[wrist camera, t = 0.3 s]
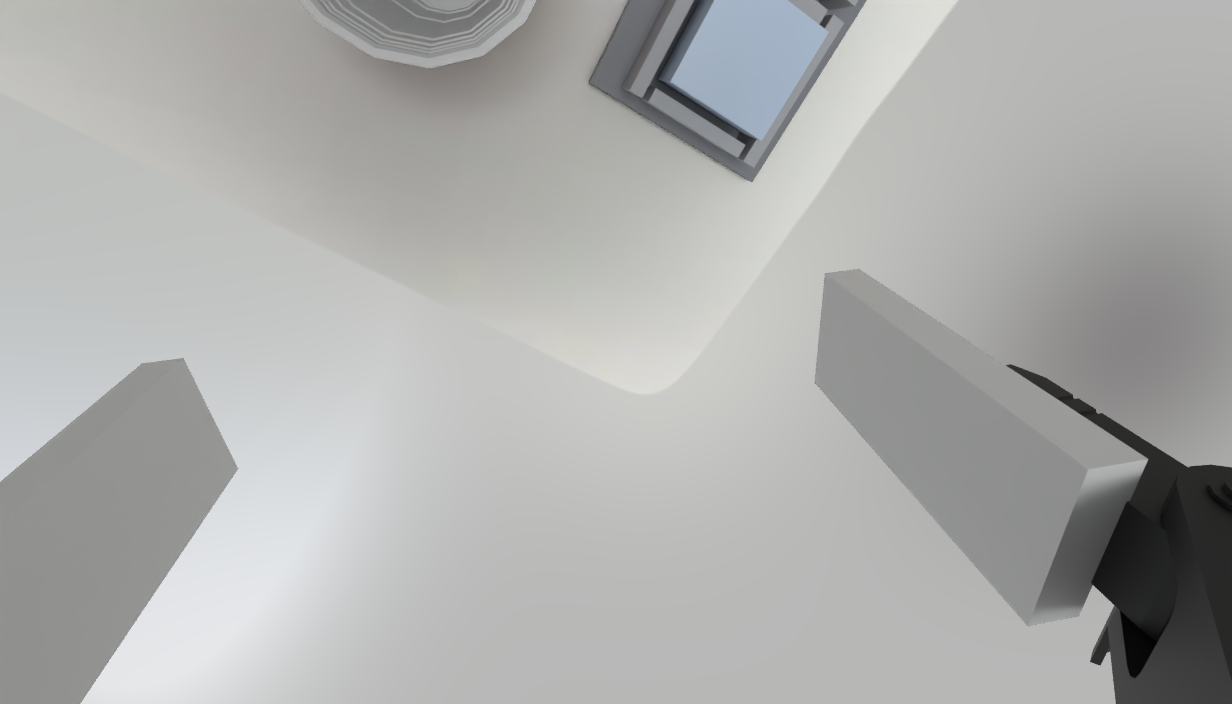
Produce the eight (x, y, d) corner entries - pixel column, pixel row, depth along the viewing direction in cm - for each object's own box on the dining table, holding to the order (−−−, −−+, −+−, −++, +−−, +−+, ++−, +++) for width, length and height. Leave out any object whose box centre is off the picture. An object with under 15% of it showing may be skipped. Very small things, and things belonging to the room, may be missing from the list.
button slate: (717, -32, 30) (736, -40, 28) (803, 33, 32) (829, 32, 30) (658, 79, 32) (670, 81, 30) (743, 134, 34) (761, 140, 32)
